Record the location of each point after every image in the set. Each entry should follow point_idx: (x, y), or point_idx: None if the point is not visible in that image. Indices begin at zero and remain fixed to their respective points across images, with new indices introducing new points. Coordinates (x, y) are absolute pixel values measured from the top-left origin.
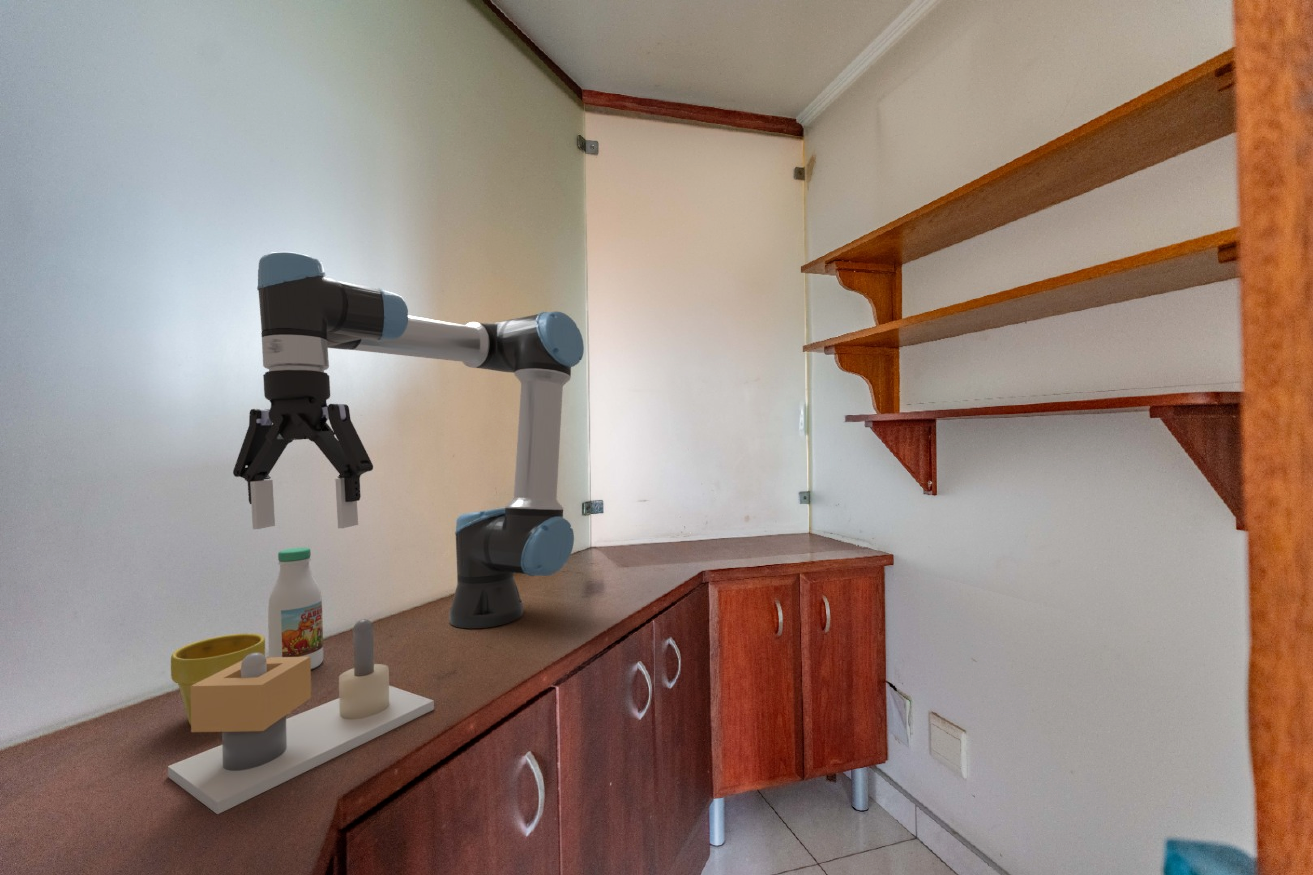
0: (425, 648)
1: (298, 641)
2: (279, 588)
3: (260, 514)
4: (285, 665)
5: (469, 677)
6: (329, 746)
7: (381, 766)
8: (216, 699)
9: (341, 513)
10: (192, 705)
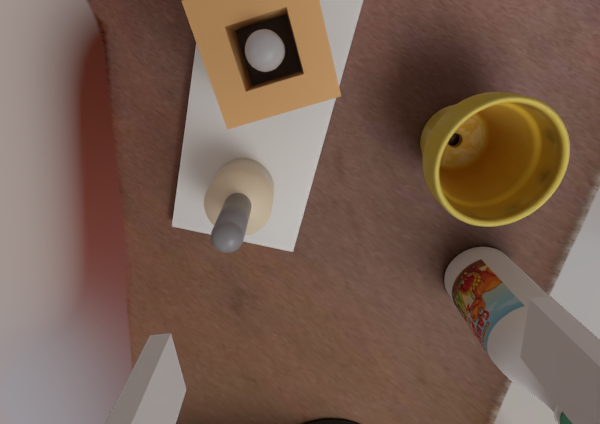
0: (335, 358)
1: (471, 284)
2: None
3: (563, 349)
4: (230, 84)
5: (202, 301)
6: (197, 95)
7: (117, 93)
8: None
9: (132, 377)
10: None
